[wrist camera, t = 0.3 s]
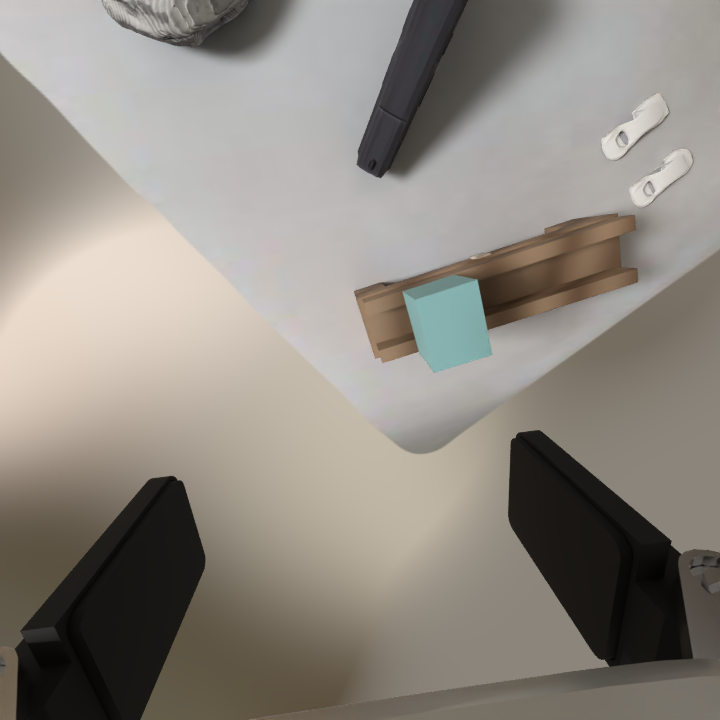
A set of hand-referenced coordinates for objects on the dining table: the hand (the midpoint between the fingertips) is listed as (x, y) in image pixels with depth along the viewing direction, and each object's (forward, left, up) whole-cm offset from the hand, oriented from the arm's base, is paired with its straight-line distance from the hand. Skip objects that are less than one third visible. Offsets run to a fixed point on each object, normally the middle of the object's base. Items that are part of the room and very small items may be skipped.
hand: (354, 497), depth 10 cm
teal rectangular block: (-8, +1, -23) cm, 24 cm away
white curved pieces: (-34, -6, -30) cm, 45 cm away
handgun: (-13, -19, -29) cm, 37 cm away
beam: (-14, +1, -29) cm, 32 cm away
